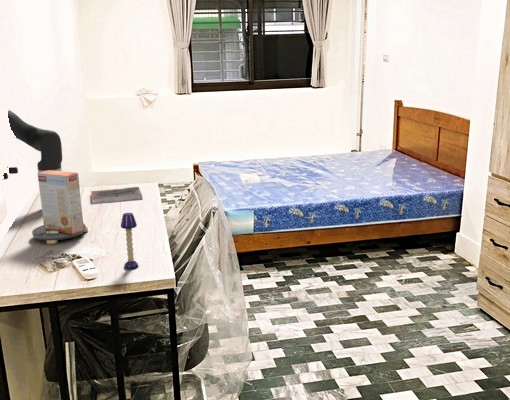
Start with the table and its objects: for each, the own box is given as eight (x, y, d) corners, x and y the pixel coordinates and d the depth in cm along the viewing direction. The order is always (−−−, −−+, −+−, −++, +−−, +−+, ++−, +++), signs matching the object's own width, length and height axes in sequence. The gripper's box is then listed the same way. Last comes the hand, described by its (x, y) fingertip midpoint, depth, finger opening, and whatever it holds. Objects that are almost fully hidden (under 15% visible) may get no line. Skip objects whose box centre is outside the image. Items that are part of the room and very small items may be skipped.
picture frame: (138, 191, 259) (91, 196, 253) (138, 186, 259) (91, 190, 252) (142, 200, 244) (92, 204, 238) (142, 194, 243) (91, 199, 237)
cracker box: (85, 230, 192) (79, 172, 186) (71, 235, 187) (65, 175, 181) (57, 225, 198) (50, 168, 193) (43, 230, 193) (36, 172, 188)
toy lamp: (125, 264, 167) (120, 211, 163) (140, 263, 168) (136, 211, 163) (123, 270, 163) (118, 216, 159) (138, 269, 163) (134, 215, 159)
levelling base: (44, 229, 204) (42, 218, 203) (92, 227, 204) (91, 217, 203) (24, 246, 185) (22, 234, 184) (77, 244, 186) (75, 233, 185)
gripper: (-46, 169, 184) (2, 167, 185) (-26, 160, 198) (18, 158, 198) (-42, 190, 186) (5, 188, 187) (-23, 180, 200) (22, 178, 200)
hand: (12, 173), depth 192 cm, fingers open, 8 cm apart
